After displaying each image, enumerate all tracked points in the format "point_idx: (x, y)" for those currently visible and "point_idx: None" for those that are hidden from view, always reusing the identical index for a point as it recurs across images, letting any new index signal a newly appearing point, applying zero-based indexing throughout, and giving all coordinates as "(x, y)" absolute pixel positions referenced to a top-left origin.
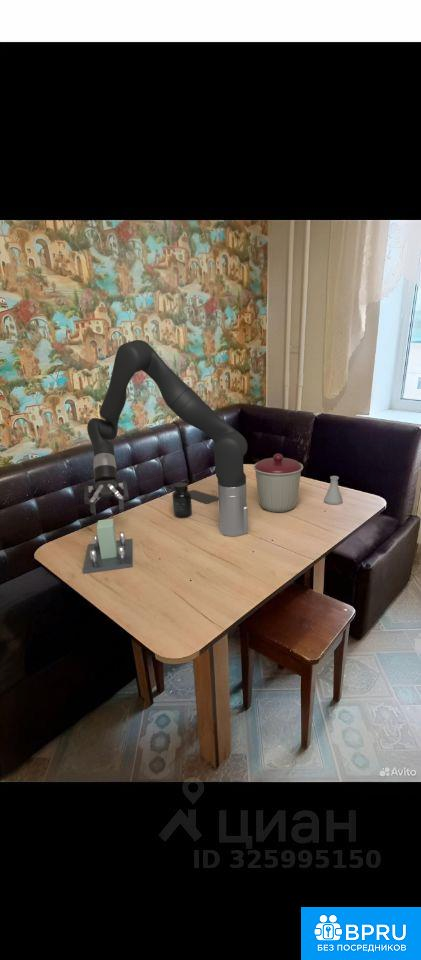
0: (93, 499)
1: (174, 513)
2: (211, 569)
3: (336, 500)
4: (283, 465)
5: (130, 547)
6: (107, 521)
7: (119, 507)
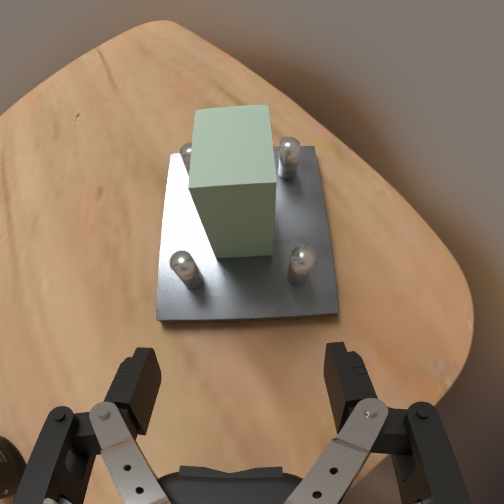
0: (358, 421)
1: (19, 467)
2: (34, 145)
3: None
4: None
5: (167, 248)
6: (220, 161)
7: (144, 358)
